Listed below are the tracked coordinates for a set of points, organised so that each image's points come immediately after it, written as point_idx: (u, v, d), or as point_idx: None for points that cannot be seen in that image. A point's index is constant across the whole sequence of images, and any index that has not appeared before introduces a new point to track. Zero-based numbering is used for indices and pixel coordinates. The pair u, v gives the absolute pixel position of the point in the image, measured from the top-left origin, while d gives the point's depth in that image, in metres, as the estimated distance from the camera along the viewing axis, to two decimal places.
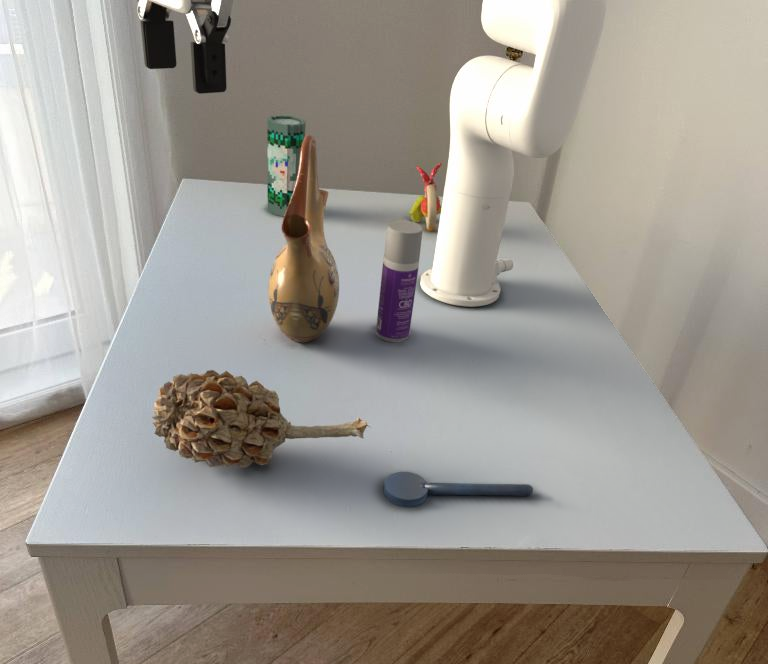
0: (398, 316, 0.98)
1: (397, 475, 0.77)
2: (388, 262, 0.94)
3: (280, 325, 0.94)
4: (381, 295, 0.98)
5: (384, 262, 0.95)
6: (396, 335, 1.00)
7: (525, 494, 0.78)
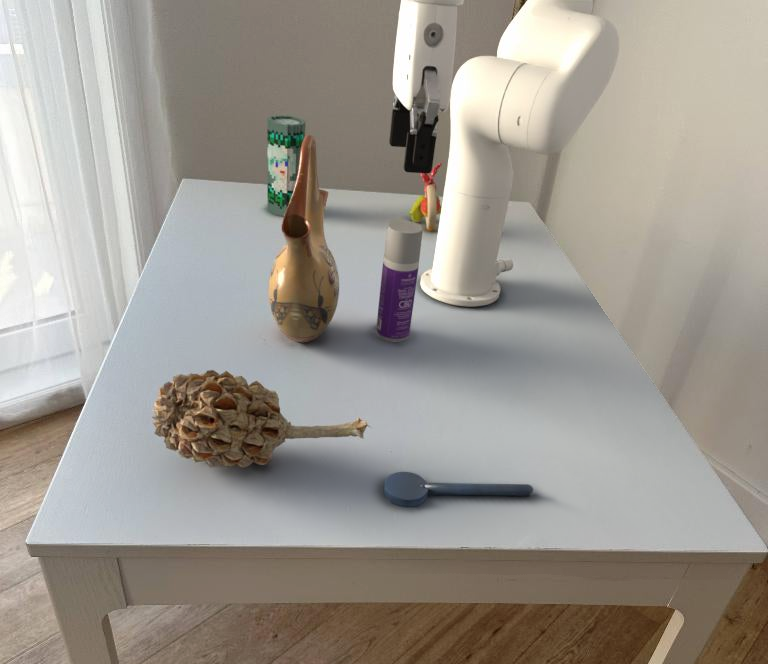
0: (398, 316, 0.98)
1: (397, 475, 0.77)
2: (388, 262, 0.94)
3: (280, 325, 0.94)
4: (381, 295, 0.98)
5: (384, 262, 0.95)
6: (396, 335, 1.00)
7: (525, 494, 0.78)
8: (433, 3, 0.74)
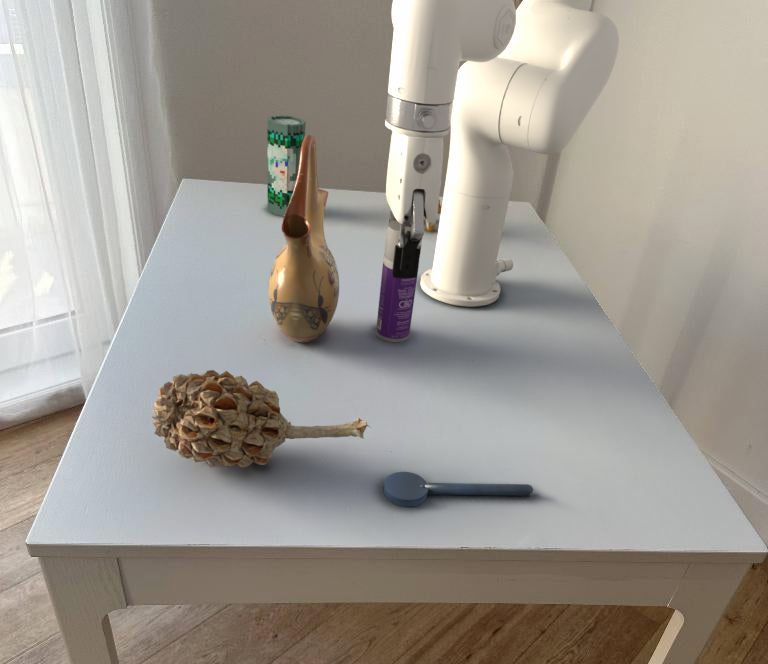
0: (398, 316, 0.98)
1: (397, 475, 0.77)
2: (388, 262, 0.94)
3: (280, 325, 0.94)
4: (381, 295, 0.98)
5: (384, 262, 0.95)
6: (396, 335, 1.00)
7: (525, 494, 0.78)
8: (422, 136, 0.82)
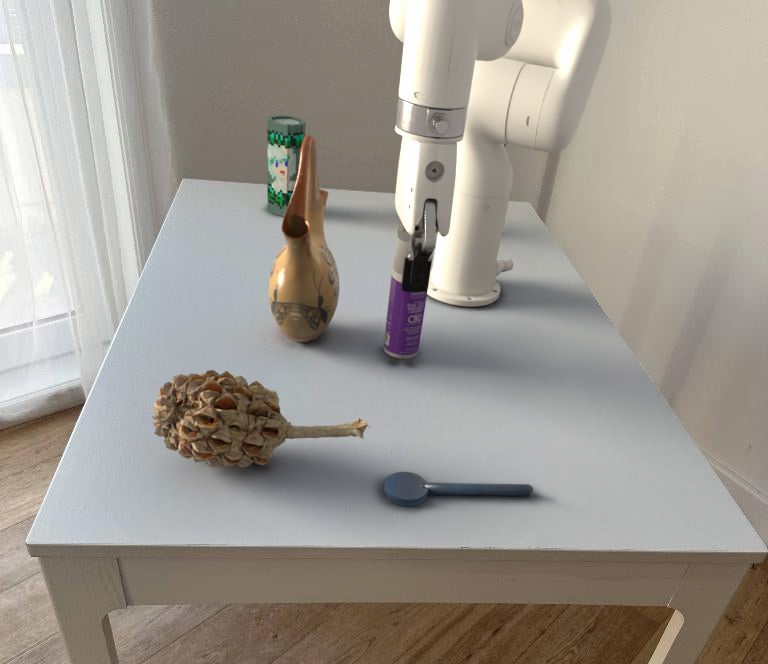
0: (407, 331, 0.93)
1: (397, 475, 0.77)
2: (397, 275, 0.89)
3: (280, 325, 0.94)
4: (389, 309, 0.92)
5: (393, 275, 0.90)
6: (405, 351, 0.95)
7: (525, 494, 0.78)
8: (434, 142, 0.77)
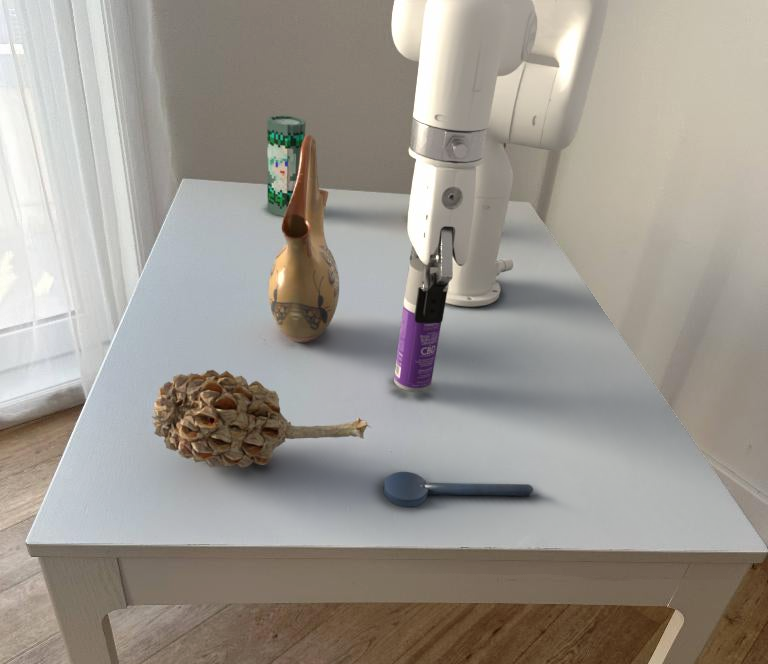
0: (419, 364, 0.87)
1: (397, 475, 0.77)
2: (409, 305, 0.83)
3: (280, 325, 0.94)
4: (401, 340, 0.87)
5: (405, 304, 0.84)
6: (417, 384, 0.89)
7: (525, 494, 0.78)
8: (452, 167, 0.71)
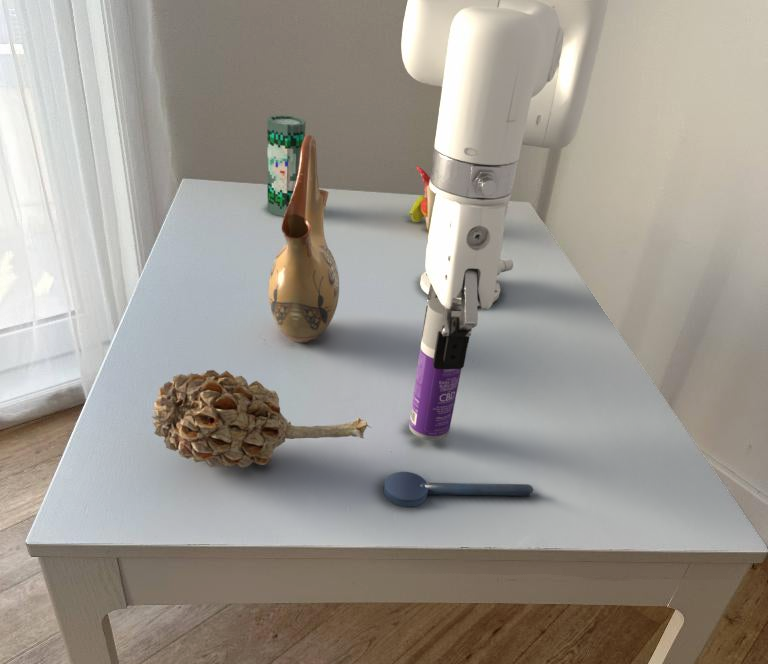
0: (437, 411, 0.80)
1: (397, 475, 0.77)
2: (427, 349, 0.76)
3: (280, 325, 0.94)
4: (417, 386, 0.79)
5: (422, 348, 0.77)
6: (435, 432, 0.82)
7: (525, 494, 0.78)
8: (478, 204, 0.64)
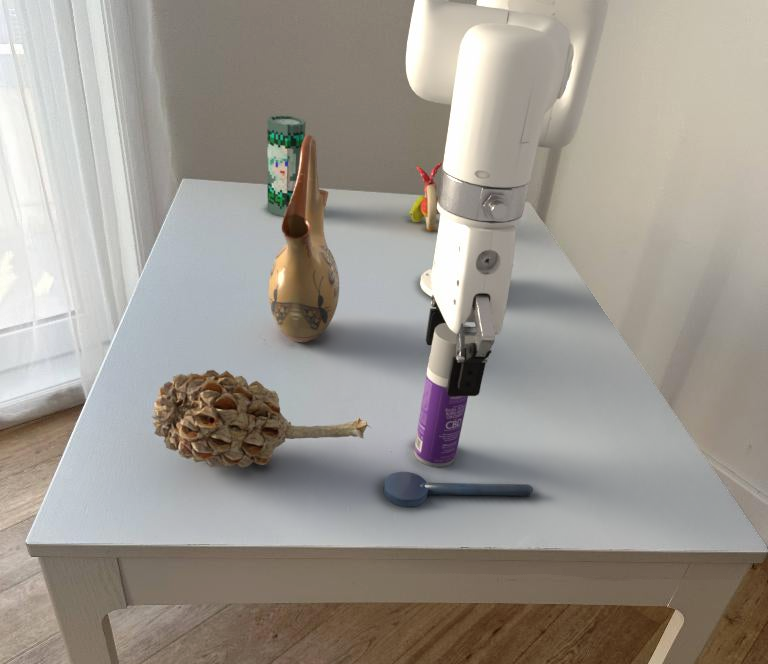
0: (443, 438, 0.78)
1: (397, 475, 0.77)
2: (434, 376, 0.74)
3: (280, 325, 0.94)
4: (423, 412, 0.77)
5: (428, 375, 0.74)
6: (440, 459, 0.80)
7: (525, 494, 0.78)
8: (488, 227, 0.62)
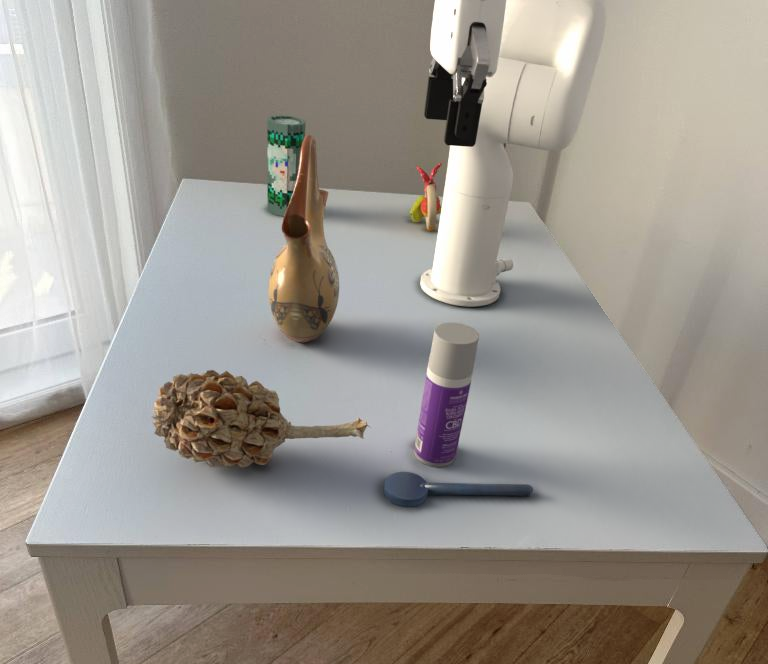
0: (443, 438, 0.78)
1: (397, 475, 0.77)
2: (434, 376, 0.74)
3: (280, 325, 0.94)
4: (423, 412, 0.77)
5: (428, 375, 0.74)
6: (440, 459, 0.80)
7: (525, 494, 0.78)
8: None
